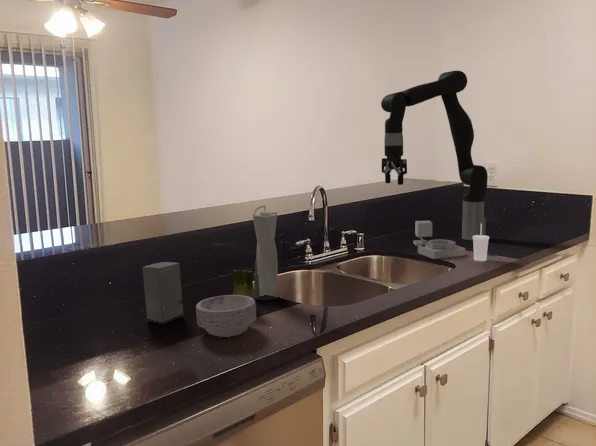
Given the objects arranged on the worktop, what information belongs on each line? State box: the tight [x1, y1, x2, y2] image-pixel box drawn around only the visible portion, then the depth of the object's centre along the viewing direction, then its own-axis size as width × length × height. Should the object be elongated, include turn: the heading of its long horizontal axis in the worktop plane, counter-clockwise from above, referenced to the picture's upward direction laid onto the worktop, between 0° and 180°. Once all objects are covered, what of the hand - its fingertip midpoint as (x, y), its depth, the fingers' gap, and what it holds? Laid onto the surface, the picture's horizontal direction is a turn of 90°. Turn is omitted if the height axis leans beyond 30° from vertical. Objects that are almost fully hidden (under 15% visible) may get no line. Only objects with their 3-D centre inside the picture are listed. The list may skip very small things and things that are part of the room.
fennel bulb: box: [232, 269, 254, 299], centre depth 157 cm, size 6×5×12 cm
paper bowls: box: [195, 294, 257, 336], centre depth 141 cm, size 15×15×8 cm
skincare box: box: [142, 261, 184, 322], centre depth 151 cm, size 8×7×16 cm
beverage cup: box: [472, 223, 490, 262], centre depth 208 cm, size 6×6×14 cm
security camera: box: [413, 220, 433, 247], centre depth 239 cm, size 6×7×10 cm
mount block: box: [417, 238, 466, 260], centre depth 219 cm, size 14×12×5 cm
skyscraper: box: [252, 205, 279, 298], centre depth 168 cm, size 8×8×28 cm
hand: (394, 183), depth 226 cm, fingers open, 8 cm apart
